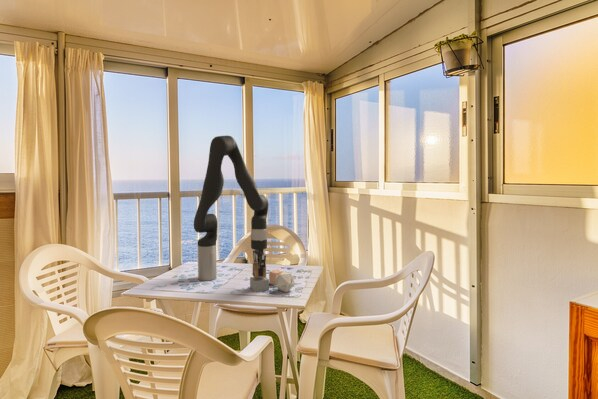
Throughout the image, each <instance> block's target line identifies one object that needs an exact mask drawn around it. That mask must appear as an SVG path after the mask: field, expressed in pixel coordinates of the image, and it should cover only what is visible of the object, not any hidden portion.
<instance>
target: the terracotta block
mask: <svg viewBox="0 0 598 399" xmlns="http://www.w3.org/2000/svg"><path fill="white" fill-rule="evenodd" d="M282 272H284V271H283V270H279V269H275V270H269V272H268V278H269V285H272V286H276V287H277V285H276V282H275V280H274V279H275V278H276V277H278V276H279V275H280V274H281V273H282Z"/></svg>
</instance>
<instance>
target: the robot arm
mask: <svg viewBox="0 0 598 399" xmlns="http://www.w3.org/2000/svg"><path fill="white" fill-rule="evenodd" d="M225 156H227V157H228V158H229V160H230V161H231V162H232V165H233V169H234V176H235V180H236V182H237V184H238V185H239V187H240V189H241V191H242V192H243V194H244V197H245V200H246V202H247V205H248V207H250V209H251V210H253V212H254V213H253V216H252V217H251V219H250V220H251V221H250V222H251V223H250V224H251V230H250V249H252V256H253V263H258V275H259V276H263V268H264V267H265V264H266V261H267V259H266V257H267V255H266V254H265V252H264V250H266V249H267V248H268V231H267V230H268V228H267V217H268V211H269V200H268V198H267V197H266V196H265V195H264V194H260V193H259V192H258V185H257V183H256V181H255V179H254V178H253V177H252V175H251V173H250V171H249V169H248V168H247V165H246V163H245V160H244V158H243V156H242V153H241V150H240V149H239V146H238V144H237V141H236V140H235V138H234V137H233V136H231V135H220V136H214V138H212V139H211V141H210V147H209V154H208V163H207V168H206V173H205V177H204V181H203V186H202V190H201V191H202V192H201V194H200V195H201V196H200V199H199V204H198V207H197V209H196V213H195V216H194V219H193V229H194V232H196V233H197V234H198V233H200V234H201V233H206V234H205V235H204V236H202V237H200V238H199V239H198V240H197V280H199V281H202V282H205V281H213V280H216V279H217V277H218V276H217V275H218V274H217V271H218V270H217V240H218V218H217V216H216V214H214V213H208V212H209V210H210V209H211V207H212V206H213V205H214V204H215V203H216V202H217V200H218V199H219V198H220V197H221V195H222V192H223V188H224V183H225V180H224V175H223V172H222V164H223V162H224V161H223V160H224V157H225ZM261 263H262V265H261Z"/></svg>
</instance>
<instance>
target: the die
mask: <svg viewBox="0 0 598 399" xmlns="http://www.w3.org/2000/svg"><path fill="white" fill-rule="evenodd" d="M274 280H275V282H276V287H277V290H278V291H280V292H285V293H288V292H289V291H290V290H291V289H292V288H293V287H294V286H296V283H295V281H294V277H293V275H292V273H290V272H286V271H283V272H282V273H281V274H280V275H279V276H278V277H276V278H275V279H274Z"/></svg>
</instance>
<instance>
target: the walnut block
mask: <svg viewBox="0 0 598 399" xmlns="http://www.w3.org/2000/svg"><path fill="white" fill-rule="evenodd" d="M261 265H262V263H261ZM252 277H255V278H264V277H266V278H267V264H266V263H265V267H264V268H263V276H259V275H258V263H254V262H252Z"/></svg>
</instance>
